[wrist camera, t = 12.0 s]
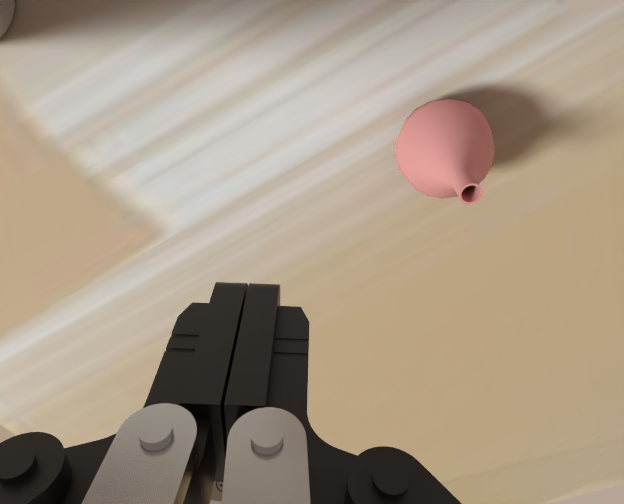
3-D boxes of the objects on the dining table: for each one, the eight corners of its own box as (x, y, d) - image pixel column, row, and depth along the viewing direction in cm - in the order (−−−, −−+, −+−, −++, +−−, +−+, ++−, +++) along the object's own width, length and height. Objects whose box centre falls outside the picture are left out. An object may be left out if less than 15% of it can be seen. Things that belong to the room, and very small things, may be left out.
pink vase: (493, 97, 40) (551, 149, 30) (462, 180, 44) (504, 251, 34) (403, 80, 40) (431, 128, 30) (380, 166, 44) (398, 233, 34)
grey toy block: (209, 464, 69) (202, 499, 64) (244, 469, 69) (239, 503, 65) (206, 484, 71) (199, 518, 67) (240, 489, 72) (235, 523, 68)
